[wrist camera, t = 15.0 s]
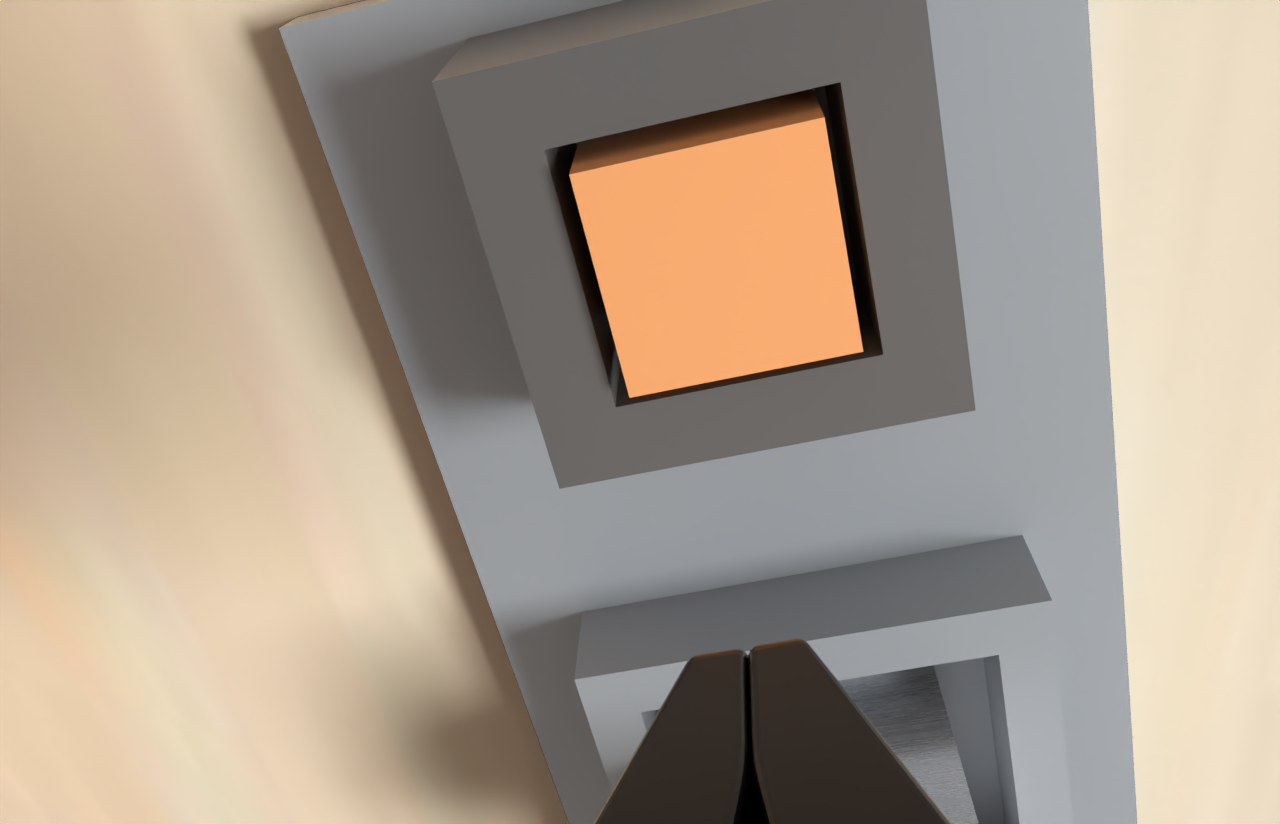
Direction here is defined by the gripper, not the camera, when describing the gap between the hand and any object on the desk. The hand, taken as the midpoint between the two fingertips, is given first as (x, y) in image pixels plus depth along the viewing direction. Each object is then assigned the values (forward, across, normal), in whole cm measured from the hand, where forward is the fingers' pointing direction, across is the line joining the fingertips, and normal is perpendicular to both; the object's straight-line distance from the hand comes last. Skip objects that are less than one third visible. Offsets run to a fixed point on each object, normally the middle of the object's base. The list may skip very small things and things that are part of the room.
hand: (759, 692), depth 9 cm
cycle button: (+12, 0, 0) cm, 12 cm away
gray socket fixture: (+13, 0, +8) cm, 15 cm away
